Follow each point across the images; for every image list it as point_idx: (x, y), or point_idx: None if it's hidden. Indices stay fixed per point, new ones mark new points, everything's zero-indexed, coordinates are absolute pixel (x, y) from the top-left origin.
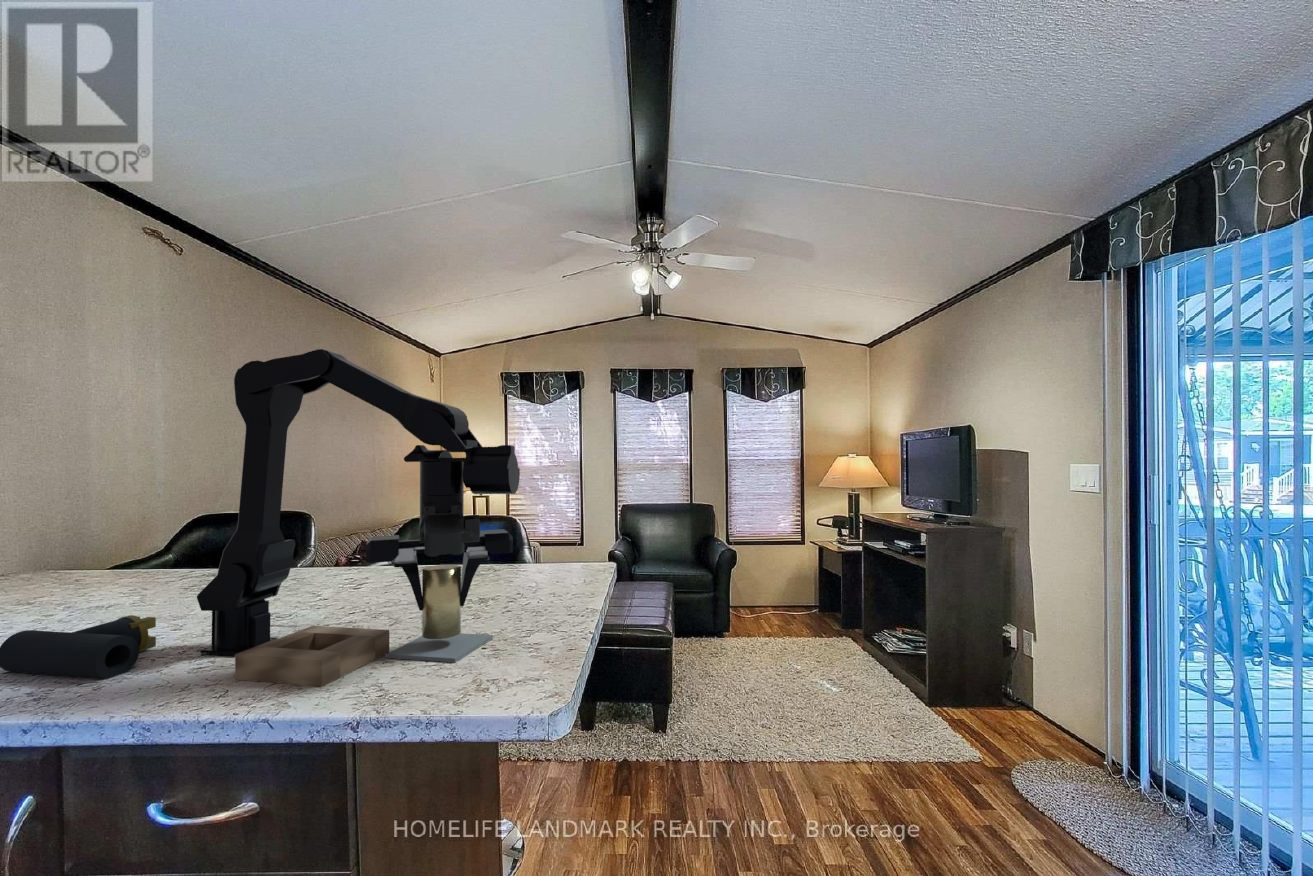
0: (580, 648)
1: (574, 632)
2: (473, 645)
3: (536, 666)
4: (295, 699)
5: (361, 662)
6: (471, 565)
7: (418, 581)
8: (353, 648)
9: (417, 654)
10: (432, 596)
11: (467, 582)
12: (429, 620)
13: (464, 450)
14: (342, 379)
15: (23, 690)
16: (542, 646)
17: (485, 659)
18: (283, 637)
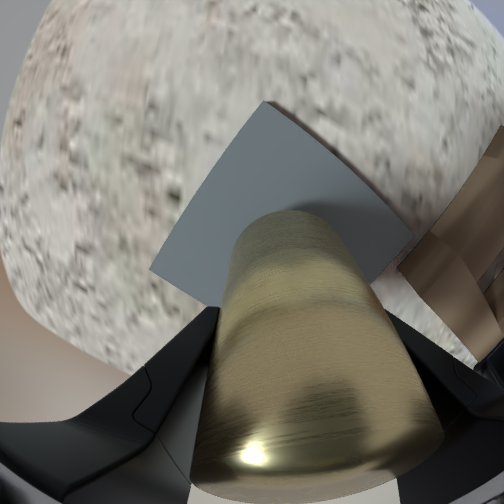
0: (8, 124)
1: (13, 231)
2: (200, 200)
3: (89, 26)
4: None
5: (459, 200)
6: (83, 445)
7: (450, 381)
8: (496, 194)
9: (357, 190)
10: (373, 303)
11: (161, 371)
12: (348, 252)
13: None
14: None
15: None
16: (53, 158)
17: (180, 97)
18: None
